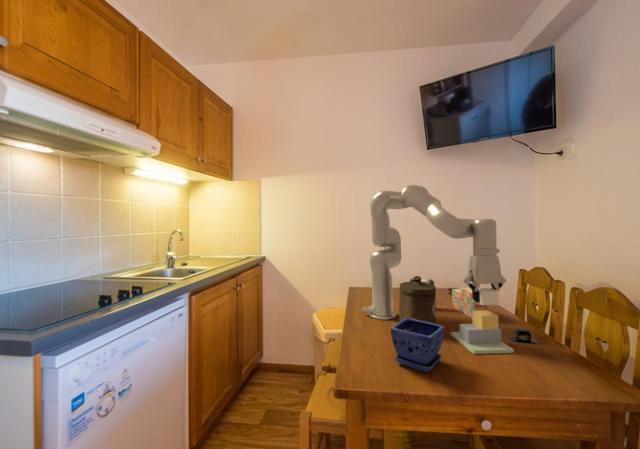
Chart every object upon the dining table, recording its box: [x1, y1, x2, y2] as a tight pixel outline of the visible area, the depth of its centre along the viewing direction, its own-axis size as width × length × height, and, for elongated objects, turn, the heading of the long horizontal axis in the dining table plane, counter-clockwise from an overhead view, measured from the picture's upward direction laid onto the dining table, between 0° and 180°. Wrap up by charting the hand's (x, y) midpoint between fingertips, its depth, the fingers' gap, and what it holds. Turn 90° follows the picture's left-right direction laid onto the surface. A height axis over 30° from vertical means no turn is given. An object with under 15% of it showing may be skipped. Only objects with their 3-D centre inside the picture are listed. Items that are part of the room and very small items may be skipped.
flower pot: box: [390, 318, 445, 373], centre depth 91 cm, size 13×13×12 cm
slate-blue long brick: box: [459, 323, 502, 344], centre depth 105 cm, size 12×6×5 cm, turn 92°
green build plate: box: [450, 331, 515, 355], centre depth 105 cm, size 14×16×1 cm
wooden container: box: [398, 275, 437, 335], centre depth 121 cm, size 15×15×22 cm
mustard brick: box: [472, 309, 499, 330], centre depth 105 cm, size 6×6×5 cm
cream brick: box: [473, 286, 499, 306], centre depth 105 cm, size 6×6×5 cm
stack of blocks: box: [451, 286, 488, 320], centre depth 140 cm, size 21×6×12 cm, turn 1°
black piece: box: [506, 327, 541, 345], centre depth 107 cm, size 12×7×5 cm, turn 74°
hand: (485, 300), depth 105 cm, fingers closed on cream brick, 6 cm apart
